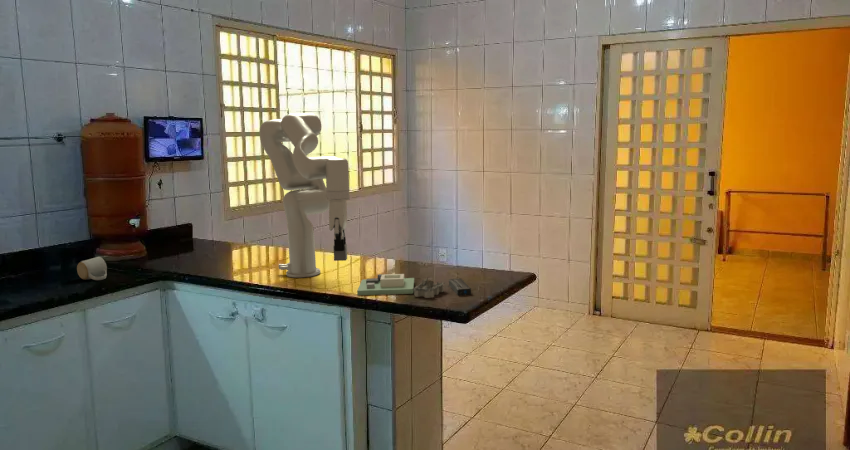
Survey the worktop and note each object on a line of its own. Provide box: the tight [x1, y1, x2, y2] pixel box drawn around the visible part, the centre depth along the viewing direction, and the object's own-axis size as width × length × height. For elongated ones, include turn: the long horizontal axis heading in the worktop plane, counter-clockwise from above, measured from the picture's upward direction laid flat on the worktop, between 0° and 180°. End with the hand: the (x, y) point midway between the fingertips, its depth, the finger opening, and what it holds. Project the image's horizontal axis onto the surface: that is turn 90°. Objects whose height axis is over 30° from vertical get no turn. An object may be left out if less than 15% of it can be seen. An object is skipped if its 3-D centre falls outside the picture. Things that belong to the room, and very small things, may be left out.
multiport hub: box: [448, 278, 472, 296], centre depth 204 cm, size 4×14×2 cm, turn 9°
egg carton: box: [413, 277, 446, 299], centre depth 200 cm, size 11×8×4 cm
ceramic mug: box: [76, 256, 108, 281], centre depth 238 cm, size 11×8×8 cm
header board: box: [356, 273, 415, 296], centre depth 208 cm, size 18×15×4 cm
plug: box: [333, 232, 348, 262], centre depth 210 cm, size 4×3×9 cm
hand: (340, 249), depth 210 cm, fingers closed on plug, 3 cm apart
